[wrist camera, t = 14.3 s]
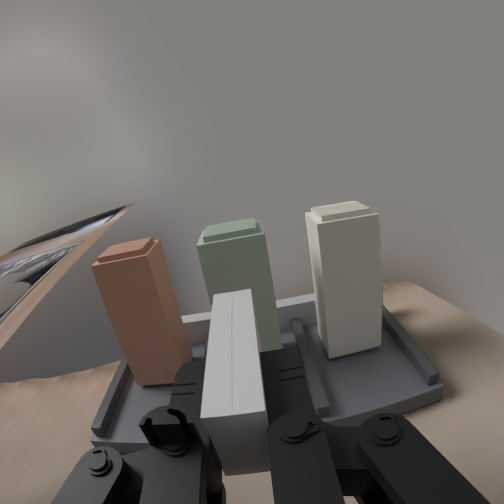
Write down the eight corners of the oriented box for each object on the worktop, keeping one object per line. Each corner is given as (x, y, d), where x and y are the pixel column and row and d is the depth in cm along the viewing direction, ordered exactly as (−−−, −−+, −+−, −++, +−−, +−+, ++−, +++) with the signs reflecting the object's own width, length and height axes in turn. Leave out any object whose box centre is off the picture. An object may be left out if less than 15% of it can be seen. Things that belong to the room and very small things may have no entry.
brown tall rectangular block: (138, 385, 25) (89, 260, 21) (148, 359, 28) (108, 244, 25) (188, 381, 25) (145, 249, 21) (193, 354, 28) (158, 234, 25)
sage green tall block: (230, 376, 25) (195, 240, 21) (230, 348, 28) (201, 226, 25) (286, 367, 25) (263, 227, 21) (280, 340, 28) (259, 215, 25)
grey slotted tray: (99, 452, 19) (75, 418, 18) (137, 354, 33) (125, 323, 31) (441, 399, 19) (450, 358, 18) (377, 314, 32) (376, 279, 31)
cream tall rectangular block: (329, 358, 24) (316, 218, 21) (318, 332, 28) (304, 207, 25) (380, 345, 24) (378, 208, 21) (364, 322, 28) (358, 199, 25)
